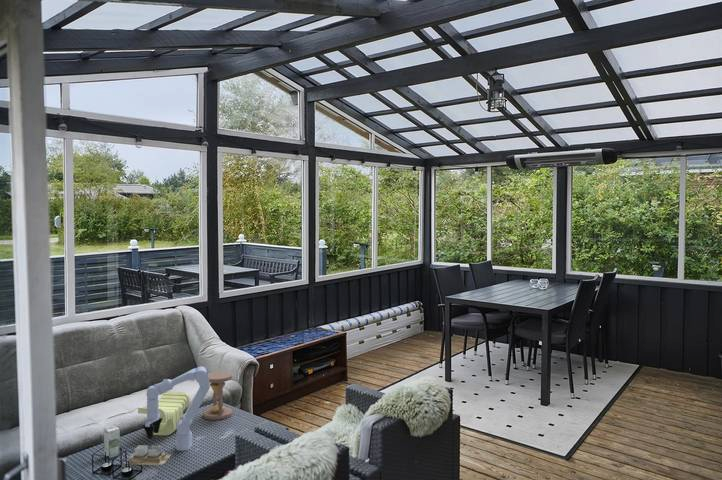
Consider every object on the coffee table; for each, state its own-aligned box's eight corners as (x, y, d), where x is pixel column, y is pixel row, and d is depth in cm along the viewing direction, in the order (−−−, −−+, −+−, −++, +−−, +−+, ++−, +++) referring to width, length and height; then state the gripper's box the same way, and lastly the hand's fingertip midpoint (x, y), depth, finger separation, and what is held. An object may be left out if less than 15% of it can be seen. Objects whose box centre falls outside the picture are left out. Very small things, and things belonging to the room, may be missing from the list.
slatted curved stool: (165, 441, 303) (165, 409, 302) (138, 440, 305) (138, 408, 304) (189, 421, 333) (189, 392, 332) (164, 420, 334) (164, 391, 334)
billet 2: (152, 457, 281) (152, 445, 280) (161, 457, 280) (160, 445, 280) (148, 460, 276) (148, 449, 276) (157, 461, 276) (157, 449, 276)
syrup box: (114, 452, 288) (114, 425, 288) (120, 455, 284) (119, 427, 284) (103, 456, 284) (103, 428, 283) (109, 459, 280) (108, 431, 280)
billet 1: (147, 457, 281) (147, 445, 280) (143, 461, 276) (143, 449, 276) (139, 456, 281) (138, 445, 281) (134, 460, 276) (134, 448, 276)
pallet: (134, 455, 285) (134, 449, 285) (172, 455, 285) (172, 450, 284) (122, 466, 272) (122, 460, 272) (162, 467, 272) (162, 461, 272)
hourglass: (202, 411, 350) (202, 372, 349) (231, 409, 355) (231, 370, 354) (203, 421, 333) (203, 380, 332) (233, 418, 338) (233, 377, 337)
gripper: (151, 404, 294) (151, 430, 294) (139, 414, 279) (139, 441, 280) (164, 405, 294) (164, 430, 294) (153, 414, 279) (153, 441, 280)
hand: (153, 435), depth 287 cm, fingers open, 7 cm apart
